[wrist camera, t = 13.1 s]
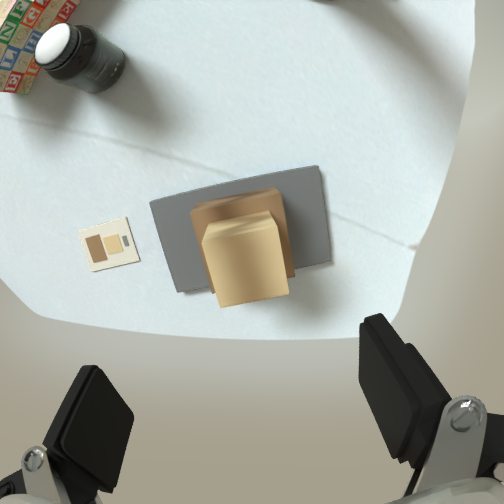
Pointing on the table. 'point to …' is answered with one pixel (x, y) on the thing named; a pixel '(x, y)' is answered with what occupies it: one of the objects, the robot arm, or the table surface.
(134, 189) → the table surface
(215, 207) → the brick
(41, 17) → the stack of blocks
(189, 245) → the board
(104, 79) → the supplement bottle
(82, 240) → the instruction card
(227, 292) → the oak brick
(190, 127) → the table surface
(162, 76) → the table surface
